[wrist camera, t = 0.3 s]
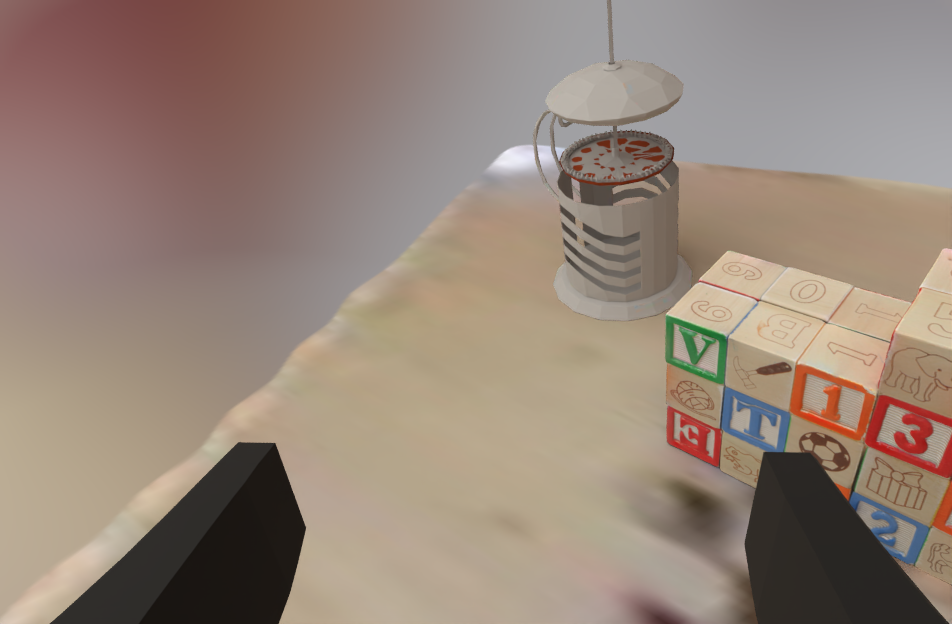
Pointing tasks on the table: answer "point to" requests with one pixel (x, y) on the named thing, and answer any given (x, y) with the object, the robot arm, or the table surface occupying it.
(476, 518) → the table surface
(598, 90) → the french press
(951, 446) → the stack of blocks
